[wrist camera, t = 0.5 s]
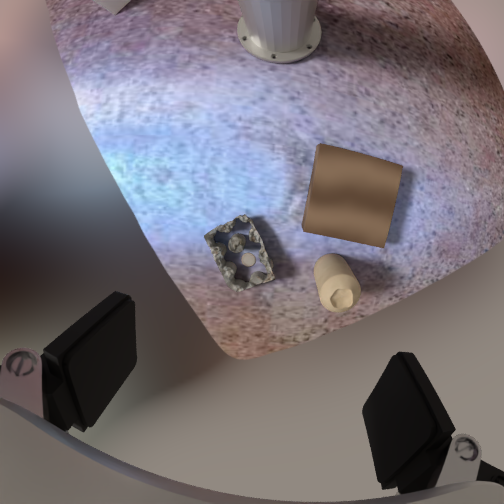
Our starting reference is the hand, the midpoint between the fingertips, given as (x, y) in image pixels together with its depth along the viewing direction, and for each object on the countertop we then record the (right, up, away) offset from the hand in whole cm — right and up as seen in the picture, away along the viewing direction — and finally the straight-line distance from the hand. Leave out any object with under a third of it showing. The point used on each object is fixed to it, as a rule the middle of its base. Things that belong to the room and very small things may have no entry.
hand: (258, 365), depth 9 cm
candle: (+12, +1, +33) cm, 35 cm away
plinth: (+14, +12, +29) cm, 35 cm away
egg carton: (-2, +4, +34) cm, 34 cm away
